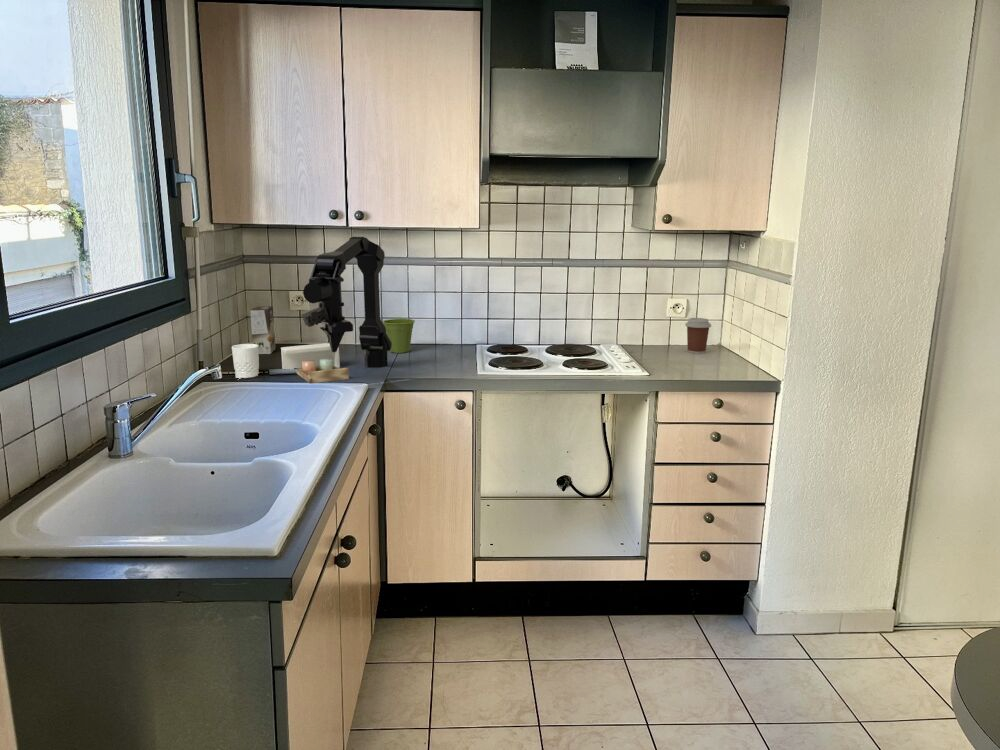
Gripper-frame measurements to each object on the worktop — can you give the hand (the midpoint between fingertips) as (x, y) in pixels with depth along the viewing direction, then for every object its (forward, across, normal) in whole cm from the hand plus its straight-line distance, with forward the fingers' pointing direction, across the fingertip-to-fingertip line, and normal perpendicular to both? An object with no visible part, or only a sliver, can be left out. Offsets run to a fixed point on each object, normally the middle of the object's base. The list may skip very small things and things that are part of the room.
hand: (334, 351), depth 220 cm
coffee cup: (+11, +13, +132) cm, 133 cm away
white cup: (+11, -25, -20) cm, 34 cm away
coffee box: (+11, -63, -6) cm, 65 cm away
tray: (+11, -13, 0) cm, 17 cm away
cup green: (+10, -17, +3) cm, 20 cm away
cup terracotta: (+10, -17, -3) cm, 20 cm away
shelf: (+11, -25, 0) cm, 27 cm away
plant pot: (+11, -40, +37) cm, 56 cm away
